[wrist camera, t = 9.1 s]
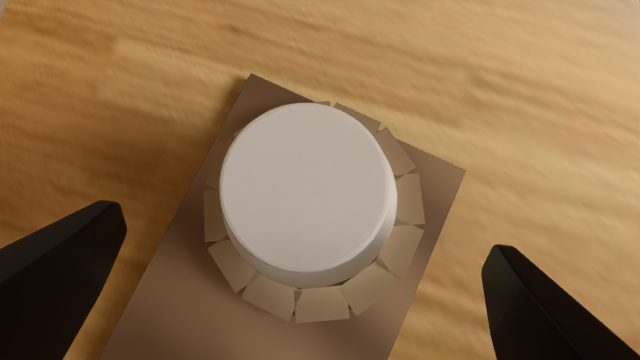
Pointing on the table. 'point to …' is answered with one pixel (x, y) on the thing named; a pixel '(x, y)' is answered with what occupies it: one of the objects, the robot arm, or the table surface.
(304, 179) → the supplement bottle
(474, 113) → the table surface
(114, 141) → the table surface
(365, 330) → the board
